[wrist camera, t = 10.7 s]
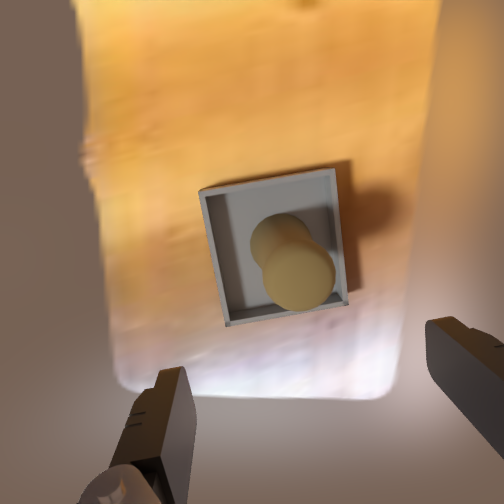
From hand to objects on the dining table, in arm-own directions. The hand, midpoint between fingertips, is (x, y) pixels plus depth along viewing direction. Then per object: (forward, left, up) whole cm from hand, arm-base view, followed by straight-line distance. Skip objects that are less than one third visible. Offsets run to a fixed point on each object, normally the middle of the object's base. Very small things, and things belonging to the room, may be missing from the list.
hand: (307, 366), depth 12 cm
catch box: (+2, +1, -23) cm, 23 cm away
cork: (+2, +2, -23) cm, 23 cm away
